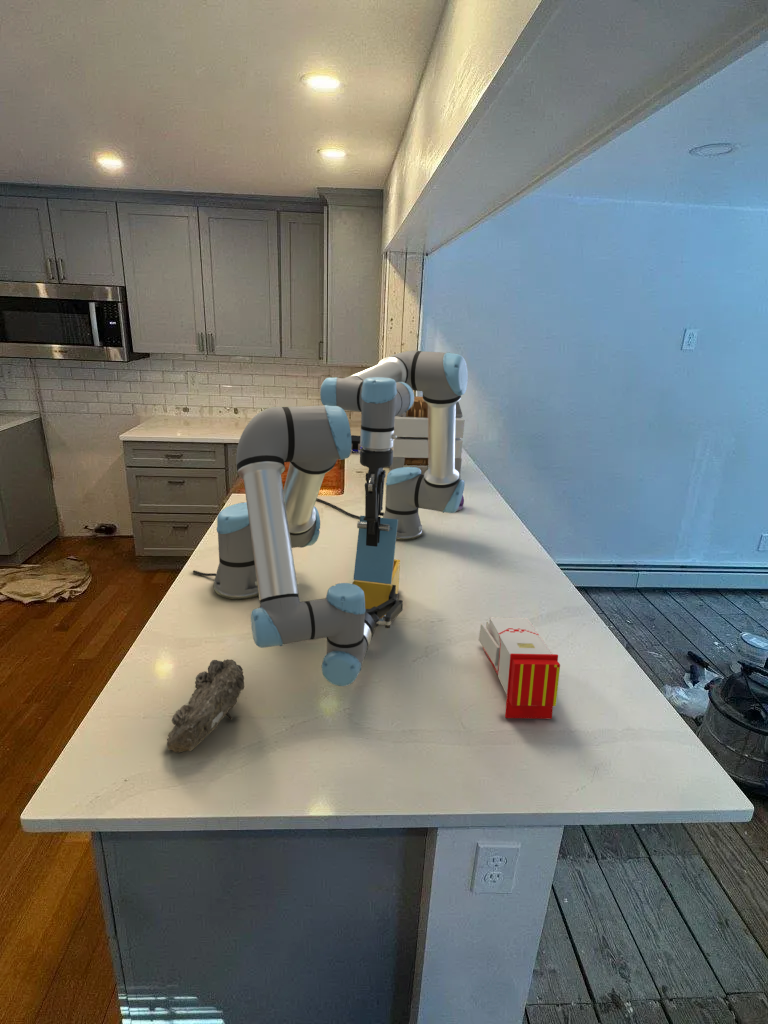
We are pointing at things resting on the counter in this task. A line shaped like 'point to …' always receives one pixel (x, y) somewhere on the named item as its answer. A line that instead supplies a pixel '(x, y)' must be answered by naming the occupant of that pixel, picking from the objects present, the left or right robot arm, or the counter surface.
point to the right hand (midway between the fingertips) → (372, 543)
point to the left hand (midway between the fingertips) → (374, 587)
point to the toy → (522, 666)
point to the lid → (376, 553)
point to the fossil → (206, 705)
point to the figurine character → (355, 443)
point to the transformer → (420, 436)
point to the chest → (379, 588)
